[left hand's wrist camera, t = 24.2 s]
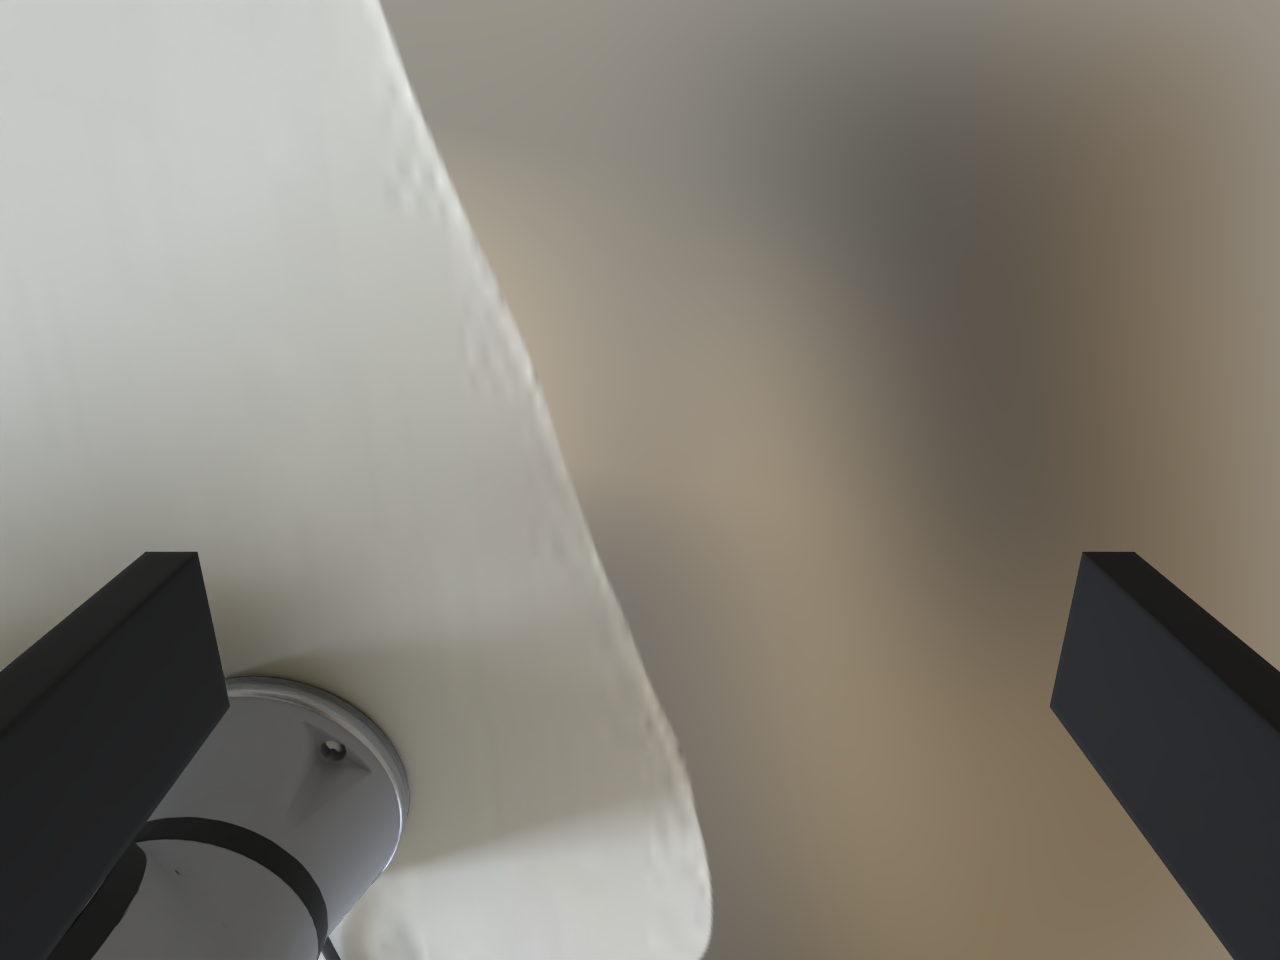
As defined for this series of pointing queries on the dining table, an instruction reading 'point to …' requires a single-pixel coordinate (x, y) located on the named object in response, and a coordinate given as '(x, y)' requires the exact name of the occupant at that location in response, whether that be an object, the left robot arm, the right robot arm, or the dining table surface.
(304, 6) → the dining table surface
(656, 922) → the dining table surface
